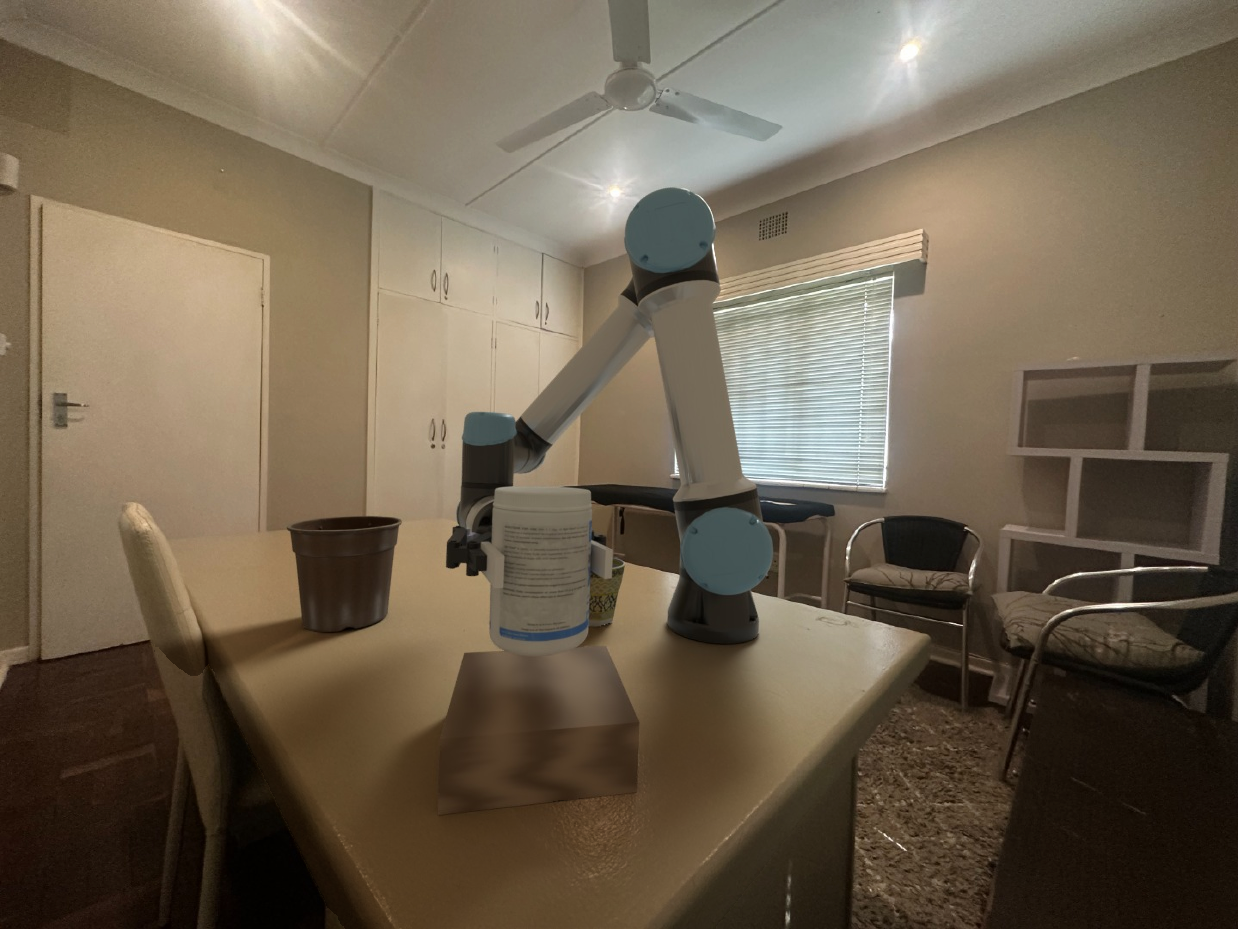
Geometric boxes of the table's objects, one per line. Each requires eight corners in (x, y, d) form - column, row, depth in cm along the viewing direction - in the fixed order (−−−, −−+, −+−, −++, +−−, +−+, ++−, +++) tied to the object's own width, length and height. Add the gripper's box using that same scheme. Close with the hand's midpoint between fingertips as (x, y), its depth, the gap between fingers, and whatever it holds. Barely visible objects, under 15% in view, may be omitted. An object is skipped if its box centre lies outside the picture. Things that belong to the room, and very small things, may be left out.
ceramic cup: (622, 631, 76) (624, 570, 76) (561, 629, 76) (563, 567, 76) (623, 606, 89) (625, 553, 89) (570, 604, 89) (572, 551, 89)
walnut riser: (604, 696, 56) (606, 645, 55) (636, 792, 40) (639, 722, 40) (462, 706, 52) (464, 652, 52) (437, 815, 37) (439, 739, 36)
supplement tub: (607, 642, 46) (614, 492, 45) (524, 671, 39) (531, 494, 39) (548, 615, 53) (554, 484, 52) (469, 635, 46) (475, 485, 46)
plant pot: (257, 636, 69) (259, 527, 69) (329, 602, 86) (331, 513, 85) (364, 641, 69) (366, 531, 68) (416, 606, 85) (419, 517, 85)
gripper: (577, 551, 67) (661, 597, 47) (407, 561, 57) (420, 625, 37) (580, 499, 67) (664, 522, 47) (409, 499, 57) (424, 530, 37)
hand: (557, 568), depth 42 cm, fingers closed on supplement tub, 9 cm apart
